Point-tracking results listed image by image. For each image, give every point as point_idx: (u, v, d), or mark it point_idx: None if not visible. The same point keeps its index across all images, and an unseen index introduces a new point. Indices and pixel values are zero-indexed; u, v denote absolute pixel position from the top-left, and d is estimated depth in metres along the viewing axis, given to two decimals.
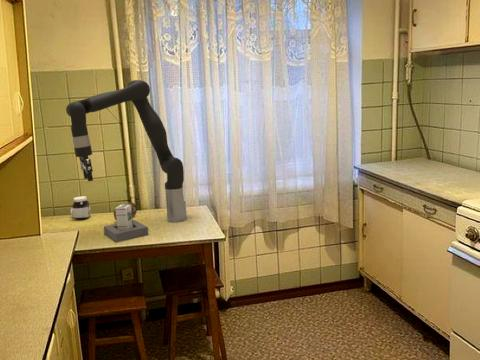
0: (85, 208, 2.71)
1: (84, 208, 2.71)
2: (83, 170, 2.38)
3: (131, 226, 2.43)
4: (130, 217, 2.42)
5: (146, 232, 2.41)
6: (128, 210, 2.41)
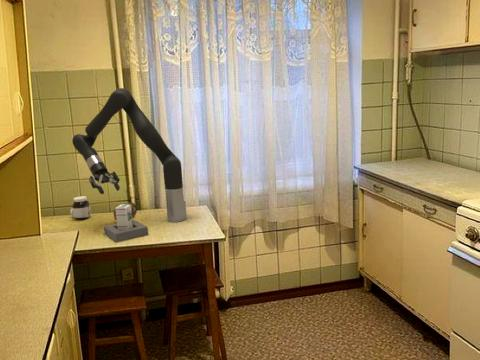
0: (85, 208, 2.71)
1: (84, 208, 2.71)
2: (114, 184, 2.52)
3: (131, 226, 2.43)
4: (130, 217, 2.42)
5: (146, 232, 2.41)
6: (128, 210, 2.41)
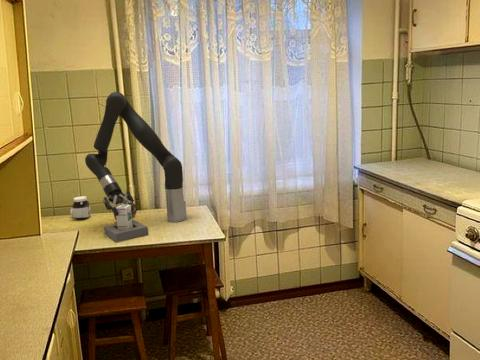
0: (85, 208, 2.71)
1: (84, 208, 2.71)
2: None
3: (131, 226, 2.43)
4: (130, 217, 2.42)
5: (146, 232, 2.41)
6: (128, 210, 2.41)
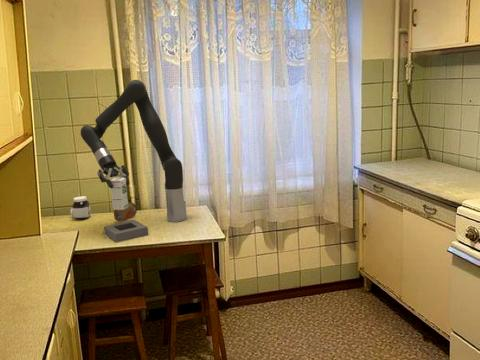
0: (85, 208, 2.71)
1: (84, 208, 2.71)
2: None
3: (126, 199, 2.40)
4: (125, 190, 2.39)
5: (146, 232, 2.41)
6: (123, 183, 2.38)
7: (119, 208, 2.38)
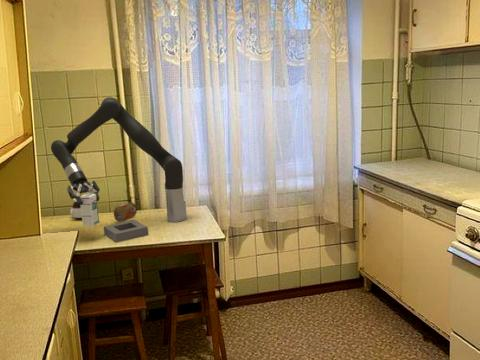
0: None
1: None
2: None
3: (96, 216, 2.37)
4: (95, 206, 2.35)
5: (146, 232, 2.41)
6: (93, 199, 2.34)
7: (89, 225, 2.35)
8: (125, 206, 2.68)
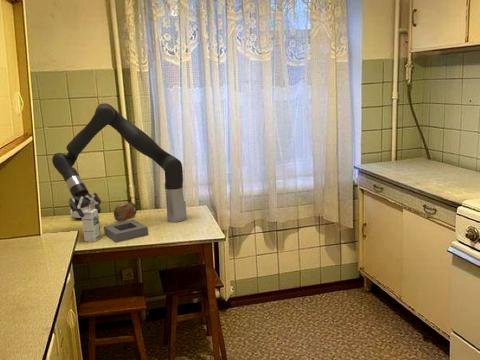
0: (85, 208, 2.71)
1: (84, 208, 2.71)
2: (95, 206, 2.40)
3: (98, 231, 2.38)
4: (96, 221, 2.37)
5: (146, 232, 2.41)
6: (95, 215, 2.36)
7: (91, 240, 2.36)
8: (125, 206, 2.68)
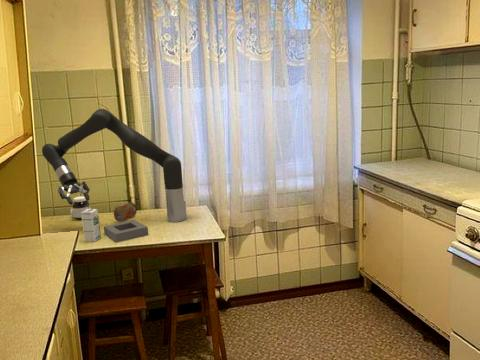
0: (85, 208, 2.71)
1: (84, 208, 2.71)
2: (83, 194, 2.50)
3: (98, 231, 2.38)
4: (96, 221, 2.37)
5: (146, 232, 2.41)
6: (95, 215, 2.36)
7: (91, 240, 2.36)
8: (125, 206, 2.68)
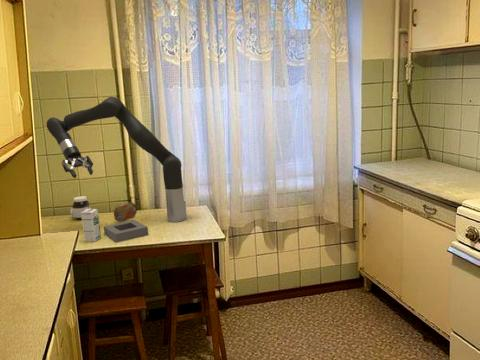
0: (85, 208, 2.71)
1: (84, 208, 2.71)
2: (87, 168, 2.51)
3: (98, 231, 2.38)
4: (96, 221, 2.37)
5: (146, 232, 2.41)
6: (95, 215, 2.36)
7: (91, 240, 2.36)
8: (125, 206, 2.68)
